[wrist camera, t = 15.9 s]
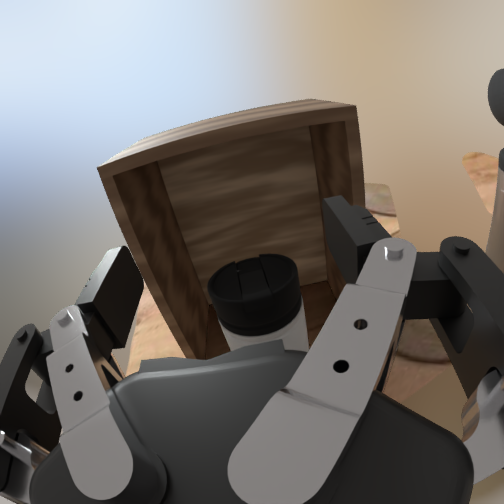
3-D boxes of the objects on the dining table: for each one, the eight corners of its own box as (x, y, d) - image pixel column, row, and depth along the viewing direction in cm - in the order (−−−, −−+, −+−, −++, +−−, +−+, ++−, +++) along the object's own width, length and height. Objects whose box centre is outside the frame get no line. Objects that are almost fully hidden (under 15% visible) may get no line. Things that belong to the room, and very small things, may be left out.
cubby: (362, 340, 35) (356, 105, 21) (195, 373, 37) (96, 167, 22) (332, 274, 48) (310, 98, 34) (202, 301, 50) (143, 138, 35)
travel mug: (266, 441, 27) (204, 314, 16) (256, 394, 32) (202, 255, 22) (322, 426, 27) (311, 286, 16) (307, 380, 32) (283, 234, 22)
